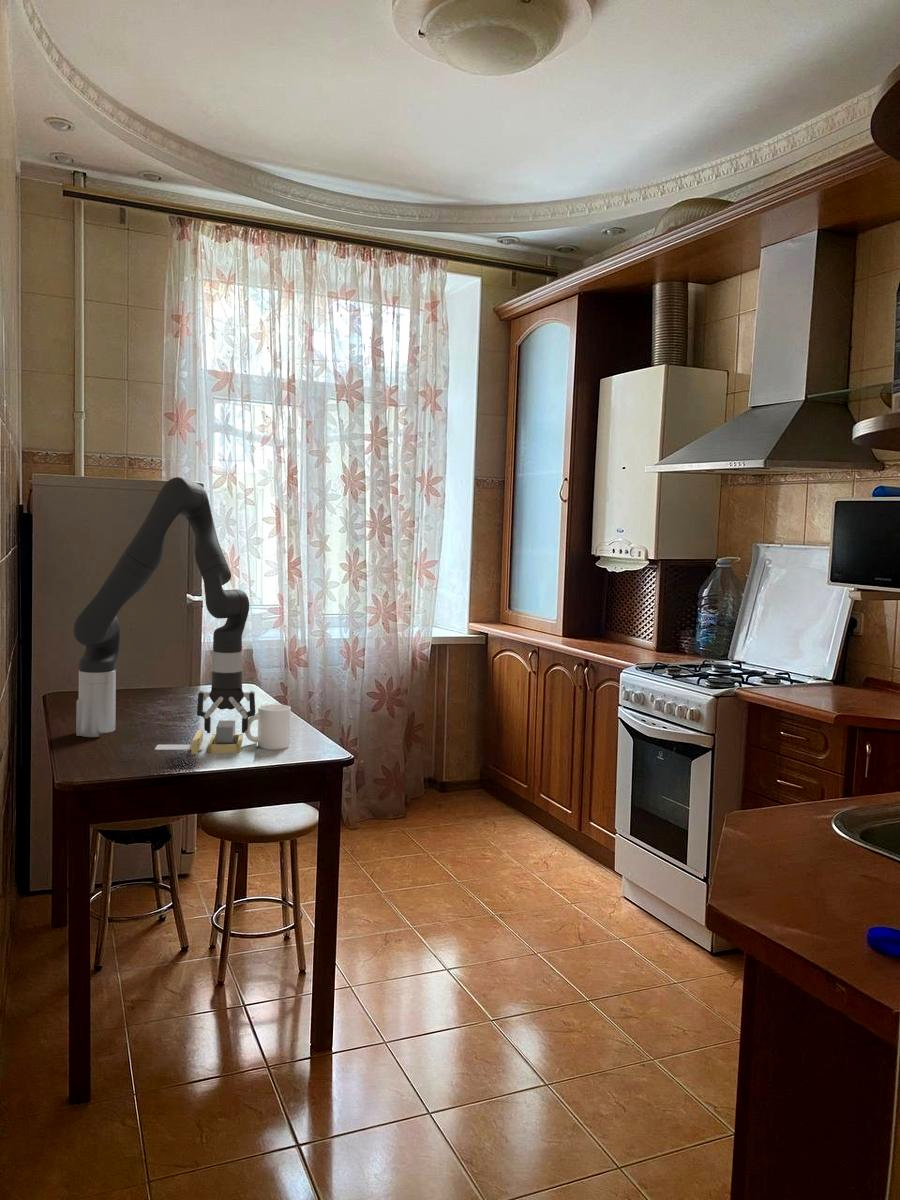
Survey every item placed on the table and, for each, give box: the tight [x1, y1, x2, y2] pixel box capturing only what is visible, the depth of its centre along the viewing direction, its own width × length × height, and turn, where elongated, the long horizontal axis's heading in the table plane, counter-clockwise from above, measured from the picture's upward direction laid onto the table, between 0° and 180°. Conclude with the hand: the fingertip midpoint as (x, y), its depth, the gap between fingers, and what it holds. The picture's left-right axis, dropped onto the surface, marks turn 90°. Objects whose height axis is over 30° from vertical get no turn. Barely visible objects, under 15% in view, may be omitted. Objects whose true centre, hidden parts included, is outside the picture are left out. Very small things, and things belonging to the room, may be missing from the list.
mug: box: [244, 703, 292, 751], centre depth 241 cm, size 12×8×10 cm
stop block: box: [215, 720, 236, 744], centre depth 236 cm, size 8×4×6 cm, turn 9°
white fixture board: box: [154, 729, 244, 755], centre depth 235 cm, size 22×14×4 cm, turn 99°
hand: (226, 732), depth 236 cm, fingers open, 8 cm apart
